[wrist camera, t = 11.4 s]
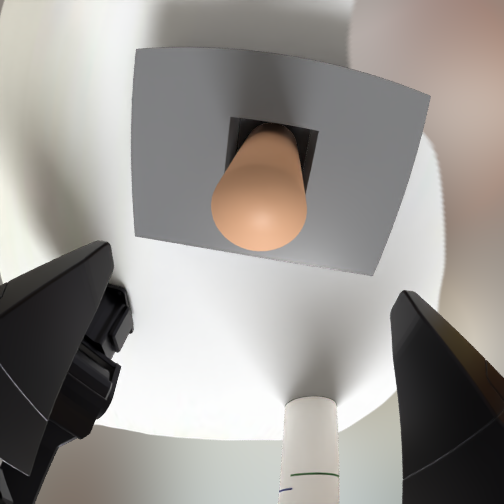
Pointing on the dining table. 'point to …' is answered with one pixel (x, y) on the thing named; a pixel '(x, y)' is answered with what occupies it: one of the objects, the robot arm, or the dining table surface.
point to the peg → (262, 191)
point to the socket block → (277, 111)
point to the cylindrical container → (310, 452)
